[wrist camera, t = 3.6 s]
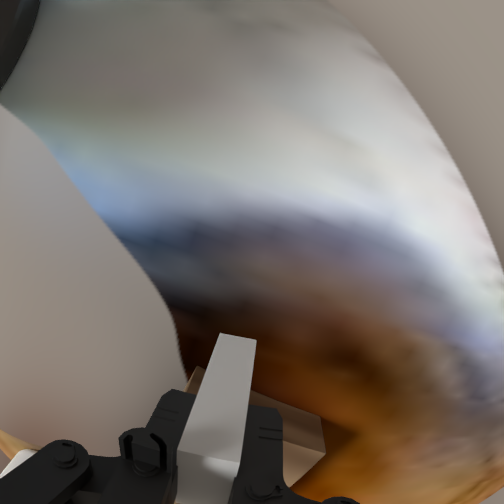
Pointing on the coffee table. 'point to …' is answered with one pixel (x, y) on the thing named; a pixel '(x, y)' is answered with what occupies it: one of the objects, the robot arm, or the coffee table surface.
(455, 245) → the coffee table surface
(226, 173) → the coffee table surface
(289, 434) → the board
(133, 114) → the coffee table surface
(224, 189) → the coffee table surface
